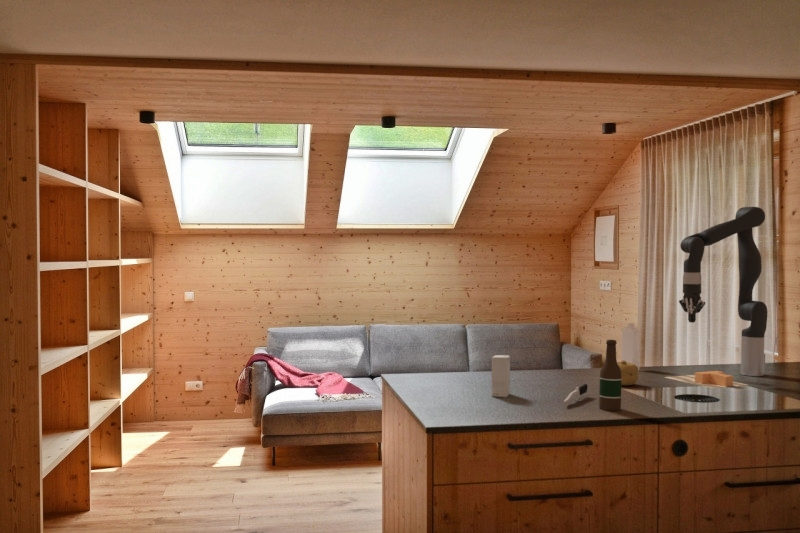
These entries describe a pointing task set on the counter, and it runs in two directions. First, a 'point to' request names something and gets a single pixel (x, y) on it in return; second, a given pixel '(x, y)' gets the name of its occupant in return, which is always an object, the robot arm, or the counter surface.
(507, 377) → the skincare box
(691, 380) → the push board
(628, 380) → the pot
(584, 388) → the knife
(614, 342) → the beer bottle
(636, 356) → the milk
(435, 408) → the counter surface
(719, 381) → the t block
